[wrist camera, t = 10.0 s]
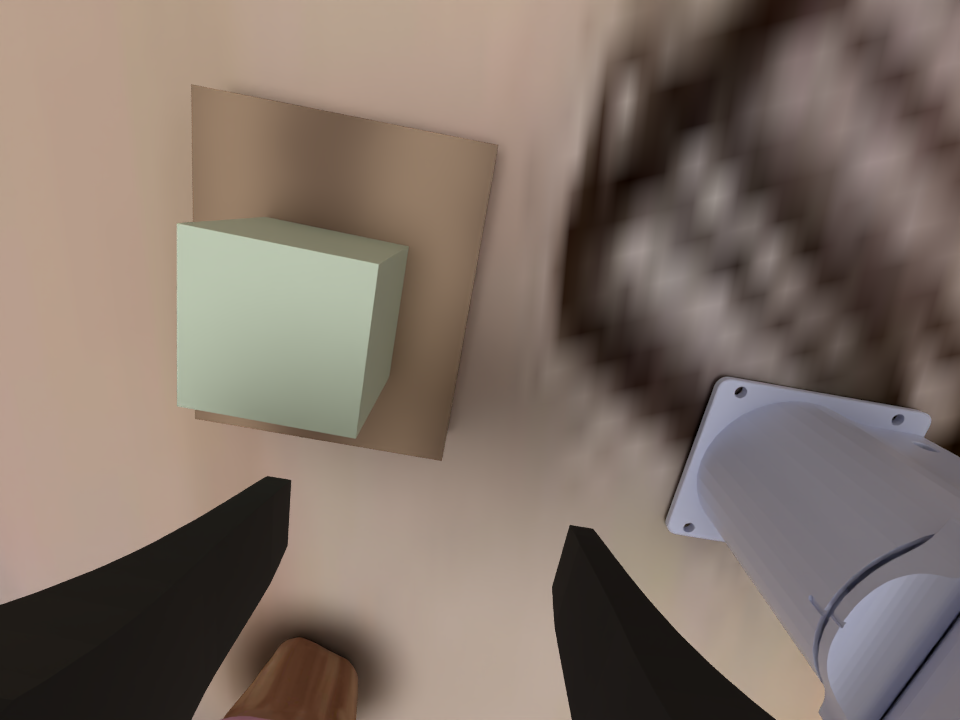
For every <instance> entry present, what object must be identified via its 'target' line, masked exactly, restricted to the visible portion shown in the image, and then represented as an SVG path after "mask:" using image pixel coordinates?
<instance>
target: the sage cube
mask: <svg viewBox="0 0 960 720" xmlns="http://www.w3.org/2000/svg"><path fill="white" fill-rule="evenodd" d="M408 249H409V246H405V245H400V244H395V243H390V242H385V241H380V240H376V239H371V238H366V237H361V236H356V235H351V234H346V233H342V232H337V231H332V230H327V229H322V228H317V227H312V226H308V225H303V224H298V223H293V222H288V221H283V220H278V219H274V218H269V217H257V218H243V219H229V220H215V221H201V222H187V223H177V406H179V407H184V408H190V409H195V410H201V411H206V412H212V413H217V414H223V415H228V416H234V417H239V418H245V419H250V420H256V421H261V422H267V423H272V424H278V425H283V426H288V427H294V428H299V429H305V430H310V431H316V432H321V433H327V434H332V435H338V436H343V437H349V438H354V439H356V437H357V435H358V434H359V432H360V430H361V428H362V426H363V424H364V423H365V421H366V419H367V417H368V415H369V413H370V411H371V410H372V408H373V406H374V404H375V402H376V400H377V399H378V397H379V395H380V393H381V391H382V389H383V387H384V386H385V384H386V382H387V380H388V378H389V375H390V368H391V362H392V355H393V348H394V342H395V335H396V328H397V322H398V315H399V308H400V302H401V295H402V289H403V282H404V275H405V269H406V262H407V255H408Z"/></svg>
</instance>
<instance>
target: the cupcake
mask: <svg viewBox="0 0 960 720" xmlns="http://www.w3.org/2000/svg"><path fill="white" fill-rule="evenodd" d="M357 695H358V676H357V673H356V671H355V669H354V667H353V666H352V664H351V663H350V662H349V661H348V660H347V659H345V658H343V657H341V656H339V655H337V654H335V653H333V652H331V651H329V650H327V649H325V648H323V647H322V646H320V645H318V644H316V643H314V642H312V641H309V640H307V639H305V638H302V637H297V638H292V639H289V640H287V641H285V642H284V643H282V644H281V645H280V646H279V647H278V649H277V650H276V652H275V653H274V655H273V656H272V658H271V659H270V660H269V661H268V663H267V664H266V665H265V666H264V667H263V669H262V670H261V671H260V673H259V674H258V676H257V677H256V679H255V680H254V682H253V683H252V684H251V685H250V686H249V687H248V689H247V690H246V691H245V693H244V694H243V695H242V696H241V697H240V698H239V700H238V701H237V702H236V703H235V704H234V706H233V707H232V708H231V709H230V710H229V712H228V713H227V714H226V715H225V717H224V718H223V719H221V720H356V712H357Z"/></svg>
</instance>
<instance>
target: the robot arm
mask: <svg viewBox="0 0 960 720" xmlns="http://www.w3.org/2000/svg"><path fill="white" fill-rule="evenodd" d="M739 387H743V388H742V391H741V393H739V394H735V390H736V389H737V388H739ZM896 415H897V417H896V418H895V419H894V420H892V418H893V417H894V416H896ZM930 424H931V417H930V416H929V414H927V413H925V412H923V411H920V410H916V409H910V408H905V407H899V406H893V405H888V404H882V403H876V402H871V401H865V400H859V399H854V398H848V397H842V396H837V395H831V394H825V393H819V392H814V391H808V390H802V389H797V388H791V387H785V386H780V385H774V384H768V383H763V382H757V381H751V380H746V379H740V378H734V377H723V378H720V379H719V380H718V381H717V382H716V384H715V385H714V388H713V391H712V394H711V396H710V399H709V402H708V405H707V407H706V410H705V413H704V416H703V418H702V421H701V424H700V427H699V429H698V432H697V435H696V438H695V440H694V443H693V446H692V449H691V451H690V454H689V457H688V460H687V462H686V465H685V468H684V471H683V473H682V476H681V479H680V482H679V485H678V487H677V490H676V493H675V496H674V498H673V501H672V504H671V507H670V509H669V512H668V515H667V518H666V522H665V523H666V526H667V528H668V530H669V531H670V532H671V533H674V534H678V535H684V536H690V537H696V538H703V539H709V540H715V541H721V542H726V544H727V545H728V547H729V548H730V550H731V551H732V553H733V554H734V556H735V557H736V558H737V560H738V561H739V563H740V564H741V566H742V567H743V569H744V570H745V572H746V573H747V574H748V576H749V577H750V579H751V580H752V582H753V583H754V585H755V586H756V588H757V589H758V590H759V592H760V593H761V595H762V596H763V598H764V599H765V601H766V602H767V604H768V605H769V606H770V608H771V609H772V611H773V612H774V614H775V615H776V617H777V618H778V620H779V621H780V622H781V624H782V625H783V627H784V628H785V630H786V631H787V633H788V634H789V636H790V637H791V638H792V640H793V641H794V643H795V644H796V646H797V647H798V649H799V650H800V652H801V653H802V654H803V656H804V657H805V659H806V660H807V662H808V663H809V665H810V666H811V668H812V669H813V670H814V672H815V673H816V675H817V676H818V678H819V679H820V681H821V682H822V683H823V684H824V688H825V698H824V702H823V704H822V706H821V707H820V709H819V714H820V716H821V717H822V719H823V720H960V457H958V456H957V455H955V454H953V453H951V452H949V451H947V450H946V449H944V448H942V447H940V446H938V445H937V444H935V443H933V442H931V441H929V440H927V439H926V438H924V436H925V434H926V432H927V430H928V429H929V427H930ZM290 492H291V480H288V479H281V478H275V477H269V476H267V477H265V478H263V479H261V480H260V481H258V482H256V483H255V484H253V485H252V486H250V487H248V488H247V489H245V490H244V491H242V492H240V493H239V494H237V495H235V496H234V497H232V498H231V499H229V500H227V501H226V502H224V503H222V504H221V505H219V506H217V507H216V508H214V509H212V510H211V511H209V512H207V513H206V514H204V515H202V516H201V517H199V518H197V519H196V520H194V521H192V522H190V523H188V524H187V525H185V526H183V527H181V528H179V529H177V530H175V531H174V532H172V533H170V534H168V535H166V536H164V537H163V538H161V539H159V540H157V541H155V542H153V543H151V544H149V545H147V546H145V547H143V548H141V549H139V550H137V551H135V552H133V553H131V554H129V555H127V556H124V557H122V558H120V559H118V560H116V561H113V562H111V563H109V564H107V565H105V566H102V567H100V568H98V569H95V570H93V571H90V572H88V573H85V574H83V575H80V576H78V577H75V578H73V579H70V580H67V581H65V582H62V583H60V584H57V585H55V586H52V587H50V588H47V589H44V590H42V591H39V592H36V593H34V594H31V595H28V596H25V597H22V598H19V599H16V600H13V601H10V602H8V603H5V604H2V605H0V720H191V719H192V717H193V715H194V713H195V711H196V709H197V707H198V705H199V703H200V701H201V699H202V697H203V695H204V693H205V691H206V690H207V688H208V686H209V684H210V683H211V681H212V679H213V677H214V675H215V674H216V672H217V670H218V669H219V667H220V665H221V664H222V662H223V660H224V659H225V657H226V656H227V654H228V652H229V651H230V649H231V647H232V646H233V644H234V643H235V641H236V639H237V638H238V636H239V634H240V633H241V631H242V629H243V628H244V626H245V625H246V623H247V621H248V620H249V618H250V616H251V615H252V613H253V612H254V610H255V608H256V607H257V605H258V603H259V602H260V600H261V598H262V597H263V595H264V593H265V592H266V590H267V588H268V587H269V585H270V583H271V581H272V579H273V577H274V575H275V572H276V570H277V568H278V566H279V564H280V562H281V559H282V557H283V555H284V553H285V550H286V548H287V546H288V528H289V510H290ZM687 523H691V524H690V525H689V526H687V527H684V525H685V524H687ZM552 594H553V611H554V624H555V632H556V637H557V643H558V648H559V654H560V659H561V665H562V670H563V675H564V680H565V686H566V691H567V696H568V702H569V707H570V712H571V718H572V720H776V719H774V718H773V717H772V716H771V715H769V714H768V713H767V712H766V711H764V710H763V709H762V708H761V707H759V706H758V705H757V704H756V703H754V702H753V701H752V700H751V699H750V698H748V697H747V696H746V695H745V694H744V693H743V692H742V691H740V690H739V689H738V688H737V687H736V686H735V685H733V684H732V683H731V682H730V681H729V680H728V679H726V678H725V677H724V676H723V675H722V674H721V673H720V672H719V671H717V670H716V669H715V668H714V667H713V666H712V665H711V664H710V663H709V662H708V661H707V660H706V659H705V658H704V657H703V656H701V655H700V654H699V653H698V652H697V651H696V650H695V649H694V648H693V647H692V646H691V645H690V644H689V643H688V642H687V641H686V640H685V639H684V638H683V637H682V636H681V635H680V634H679V633H678V632H677V631H676V630H675V628H674V627H673V626H672V625H671V624H670V623H669V622H668V621H667V620H666V619H665V617H664V616H663V615H662V614H661V613H660V612H659V611H658V610H657V609H656V607H655V606H654V605H653V604H652V603H651V602H650V600H649V599H648V598H647V597H646V596H645V595H644V593H643V592H642V591H641V590H640V589H639V587H638V586H637V585H636V584H635V582H634V581H633V580H632V579H631V577H630V576H629V575H628V574H627V572H626V571H625V570H624V568H623V567H622V566H621V565H620V563H619V562H618V561H617V559H616V558H615V557H614V555H613V554H612V553H611V552H610V550H609V549H608V548H607V546H606V545H605V544H604V542H603V541H602V540H601V538H600V537H599V536H598V534H597V533H596V532H595V531H594V529H591V528H585V527H579V526H573V525H570V526H569V530H568V533H567V537H566V540H565V544H564V547H563V551H562V554H561V558H560V561H559V565H558V568H557V572H556V575H555V579H554V582H553V586H552Z"/></svg>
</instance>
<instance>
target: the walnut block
mask: <svg viewBox="0 0 960 720" xmlns="http://www.w3.org/2000/svg"><path fill="white" fill-rule="evenodd" d="M191 102H192V187H193V222H201V221H215V220H229V219H243V218H257V217H269V218H274V219H278V220H283V221H288V222H293V223H298V224H303V225H308V226H312V227H317V228H322V229H327V230H332V231H337V232H342V233H346V234H351V235H356V236H361V237H366V238H371V239H376V240H380V241H385V242H390V243H395V244H400V245H405V246H409V249H408V255H407V262H406V269H405V275H404V282H403V289H402V295H401V302H400V308H399V315H398V322H397V328H396V335H395V342H394V348H393V355H392V362H391V368H390V375H389V378H388V380H387V382H386V384H385V386H384V387H383V389H382V391H381V393H380V395H379V397H378V399H377V400H376V402H375V404H374V406H373V408H372V410H371V411H370V413H369V415H368V417H367V419H366V421H365V423H364V424H363V426H362V428H361V430H360V432H359V434H358V435H357V437H356V439H354V438H349V437H343V436H338V435H332V434H327V433H321V432H316V431H310V430H305V429H299V428H294V427H288V426H283V425H278V424H272V423H267V422H261V421H256V420H250V419H245V418H239V417H234V416H228V415H223V414H217V413H212V412H206V411H201V410H195V419H199V420H205V421H211V422H217V423H223V424H228V425H234V426H240V427H246V428H252V429H258V430H264V431H269V432H275V433H281V434H287V435H293V436H299V437H305V438H311V439H316V440H322V441H328V442H334V443H340V444H346V445H352V446H358V447H363V448H369V449H375V450H381V451H387V452H393V453H399V454H404V455H410V456H416V457H422V458H428V459H434V460H440V461H442V457H443V451H444V446H445V440H446V435H447V429H448V424H449V418H450V413H451V407H452V402H453V396H454V390H455V385H456V379H457V374H458V368H459V362H460V357H461V351H462V346H463V340H464V334H465V329H466V323H467V318H468V312H469V307H470V301H471V295H472V290H473V284H474V279H475V273H476V267H477V262H478V256H479V251H480V245H481V239H482V234H483V228H484V223H485V217H486V211H487V206H488V200H489V195H490V189H491V184H492V178H493V172H494V167H495V161H496V156H497V150H498V145H495V144H490V143H485V142H479V141H474V140H469V139H464V138H459V137H454V136H449V135H444V134H439V133H434V132H429V131H424V130H419V129H414V128H409V127H404V126H399V125H394V124H389V123H384V122H379V121H374V120H368V119H363V118H358V117H353V116H348V115H343V114H338V113H333V112H328V111H323V110H318V109H313V108H308V107H303V106H298V105H293V104H288V103H283V102H278V101H273V100H268V99H262V98H257V97H252V96H247V95H242V94H237V93H232V92H227V91H222V90H217V89H212V88H207V87H202V86H197V85H192V84H191Z"/></svg>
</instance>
